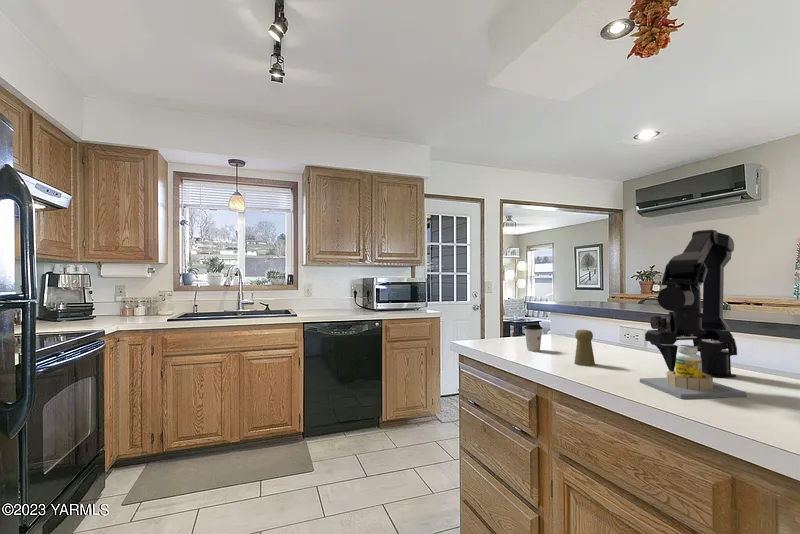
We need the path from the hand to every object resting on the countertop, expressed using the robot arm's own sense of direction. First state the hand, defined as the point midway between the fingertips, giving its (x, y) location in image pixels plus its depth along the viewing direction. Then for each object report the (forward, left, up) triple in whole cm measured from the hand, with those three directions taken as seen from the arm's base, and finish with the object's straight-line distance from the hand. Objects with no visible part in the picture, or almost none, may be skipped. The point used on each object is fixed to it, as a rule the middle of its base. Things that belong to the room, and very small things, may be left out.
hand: (688, 370), depth 97 cm
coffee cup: (+18, -53, -5) cm, 56 cm away
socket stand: (0, 0, -4) cm, 4 cm away
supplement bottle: (0, 0, -4) cm, 4 cm away
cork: (+11, -29, -5) cm, 31 cm away
